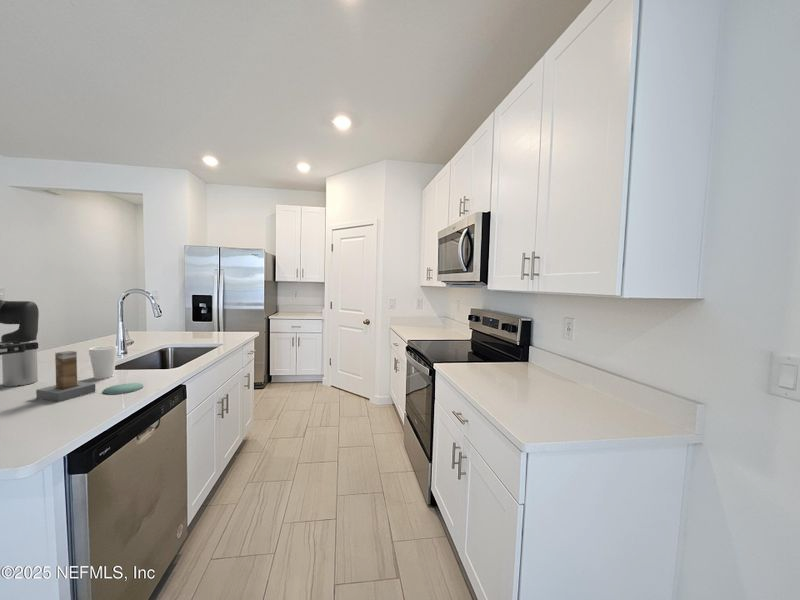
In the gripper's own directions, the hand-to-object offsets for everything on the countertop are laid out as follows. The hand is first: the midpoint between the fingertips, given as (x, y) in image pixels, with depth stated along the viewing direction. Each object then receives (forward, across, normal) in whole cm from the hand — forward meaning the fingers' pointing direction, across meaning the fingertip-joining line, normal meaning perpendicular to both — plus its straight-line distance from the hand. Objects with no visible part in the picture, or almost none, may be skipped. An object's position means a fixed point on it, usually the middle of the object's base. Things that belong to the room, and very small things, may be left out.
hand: (28, 344), depth 110 cm
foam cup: (+32, +12, +20) cm, 39 cm away
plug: (+11, 0, +20) cm, 23 cm away
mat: (+22, -12, +20) cm, 32 cm away
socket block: (+11, 0, +20) cm, 23 cm away
